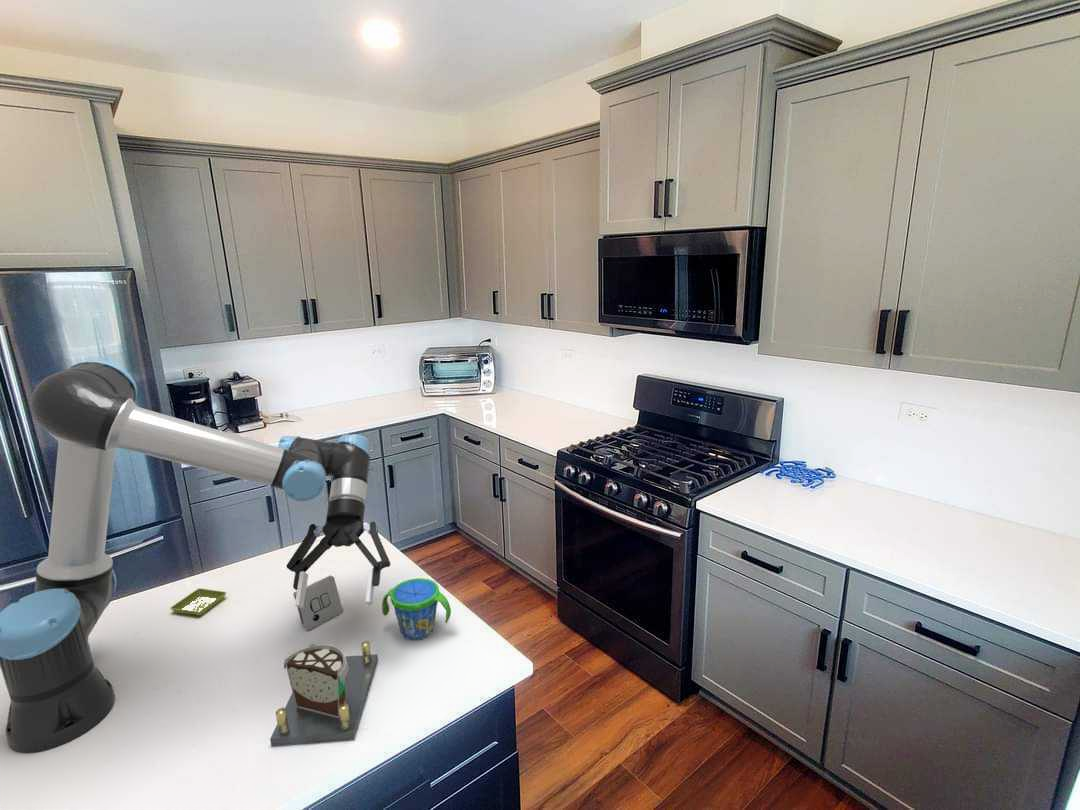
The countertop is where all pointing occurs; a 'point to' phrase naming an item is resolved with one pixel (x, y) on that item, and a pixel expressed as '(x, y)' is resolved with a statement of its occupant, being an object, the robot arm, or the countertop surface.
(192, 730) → the countertop surface
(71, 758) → the countertop surface
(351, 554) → the countertop surface
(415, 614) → the snack cup
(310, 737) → the post plate
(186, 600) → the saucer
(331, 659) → the food container
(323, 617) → the electrical switch
